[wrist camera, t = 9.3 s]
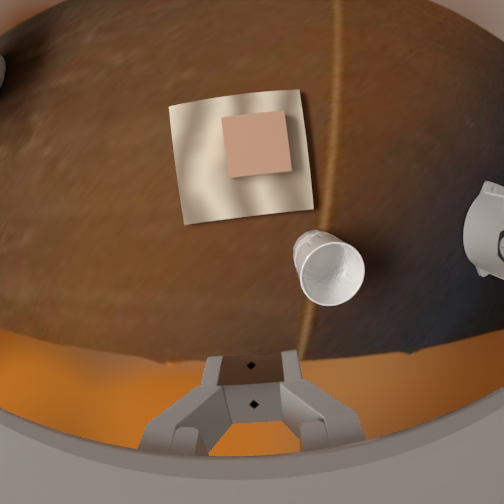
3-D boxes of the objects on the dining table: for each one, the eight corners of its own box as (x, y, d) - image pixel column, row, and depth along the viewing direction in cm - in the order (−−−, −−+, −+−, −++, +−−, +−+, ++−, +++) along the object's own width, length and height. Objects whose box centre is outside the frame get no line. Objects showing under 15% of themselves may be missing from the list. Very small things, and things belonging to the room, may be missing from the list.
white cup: (320, 214, 40) (342, 227, 30) (349, 255, 42) (375, 278, 32) (277, 248, 41) (286, 271, 32) (309, 286, 43) (324, 318, 33)
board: (297, 91, 35) (299, 89, 34) (311, 208, 40) (313, 209, 39) (171, 108, 36) (168, 106, 34) (186, 223, 40) (184, 224, 39)
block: (222, 120, 35) (282, 114, 35) (230, 177, 37) (289, 171, 37) (221, 117, 33) (284, 110, 33) (228, 178, 35) (291, 171, 35)
